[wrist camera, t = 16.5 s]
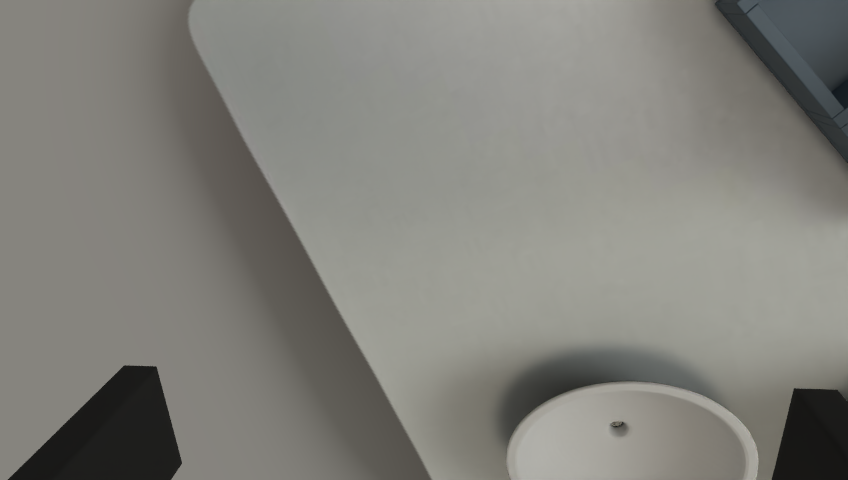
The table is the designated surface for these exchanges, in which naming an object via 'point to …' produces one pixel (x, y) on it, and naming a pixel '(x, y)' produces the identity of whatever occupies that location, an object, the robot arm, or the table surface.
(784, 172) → the table surface
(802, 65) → the grid
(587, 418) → the dish
